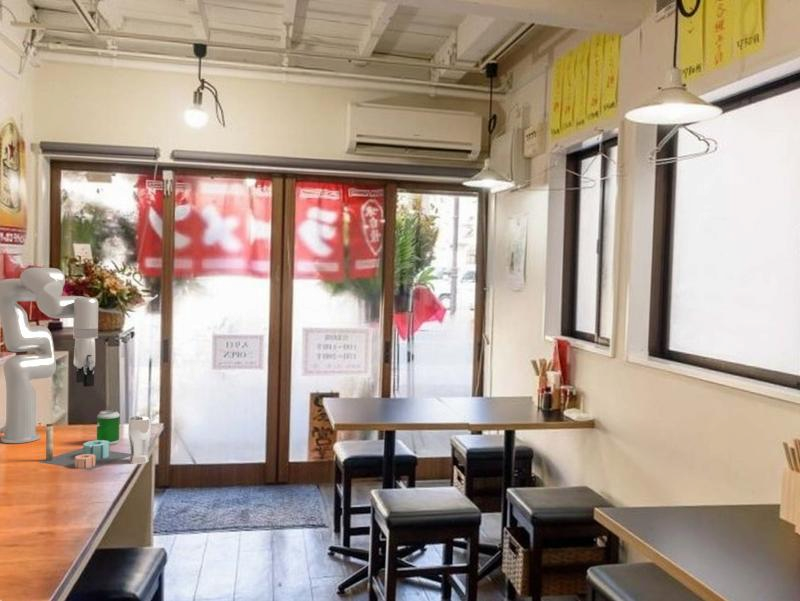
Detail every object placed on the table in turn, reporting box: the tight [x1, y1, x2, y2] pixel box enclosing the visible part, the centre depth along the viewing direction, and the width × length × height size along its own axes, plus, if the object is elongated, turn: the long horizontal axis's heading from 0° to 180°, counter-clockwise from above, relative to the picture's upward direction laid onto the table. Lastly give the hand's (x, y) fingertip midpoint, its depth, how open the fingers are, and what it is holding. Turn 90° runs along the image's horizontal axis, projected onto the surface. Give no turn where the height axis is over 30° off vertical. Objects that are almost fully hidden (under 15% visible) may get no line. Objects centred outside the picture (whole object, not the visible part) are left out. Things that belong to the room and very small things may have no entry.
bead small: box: [75, 454, 96, 469], centre depth 208 cm, size 6×6×3 cm
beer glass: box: [128, 415, 152, 465], centre depth 215 cm, size 7×7×15 cm
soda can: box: [96, 409, 121, 446], centre depth 236 cm, size 8×8×12 cm
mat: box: [37, 447, 131, 471], centre depth 217 cm, size 22×20×1 cm
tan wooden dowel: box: [45, 423, 54, 461], centre depth 213 cm, size 2×2×12 cm
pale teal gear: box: [82, 439, 111, 459], centre depth 219 cm, size 8×8×4 cm
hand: (85, 384), depth 218 cm, fingers open, 9 cm apart
